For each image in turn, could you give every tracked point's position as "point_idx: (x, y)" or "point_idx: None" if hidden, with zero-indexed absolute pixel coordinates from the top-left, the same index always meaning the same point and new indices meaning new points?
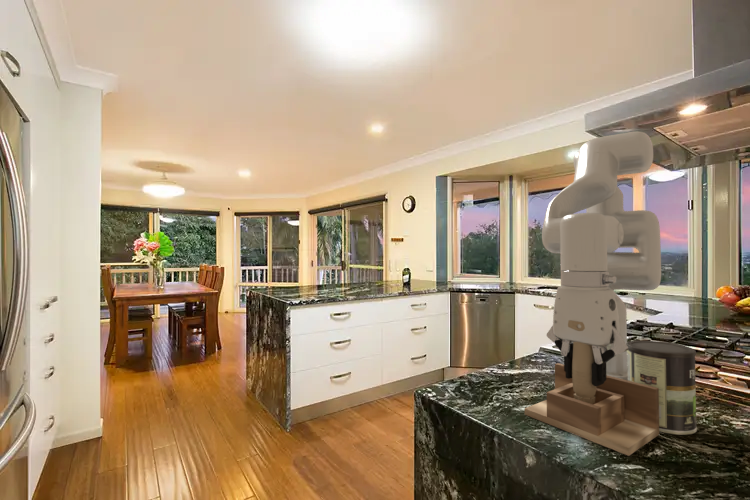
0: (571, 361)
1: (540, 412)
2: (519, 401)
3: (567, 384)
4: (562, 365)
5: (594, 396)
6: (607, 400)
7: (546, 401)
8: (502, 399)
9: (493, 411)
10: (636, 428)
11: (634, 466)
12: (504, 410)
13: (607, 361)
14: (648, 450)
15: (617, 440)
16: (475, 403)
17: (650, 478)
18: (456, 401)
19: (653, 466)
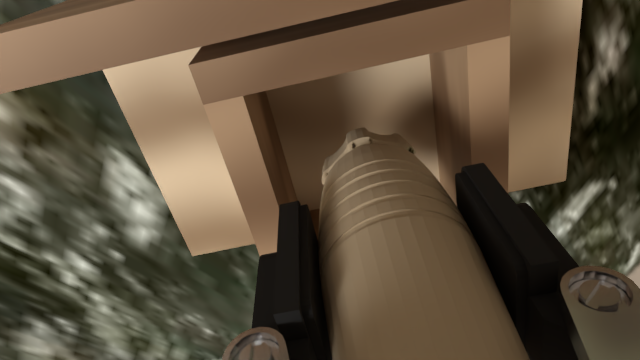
0: (329, 349)
1: (243, 231)
2: (65, 177)
3: (219, 147)
4: (15, 74)
5: (409, 150)
6: (486, 152)
7: (146, 132)
8: (34, 224)
9: (145, 306)
10: (526, 2)
11: (582, 200)
12: (145, 274)
13: (608, 286)
14: (583, 75)
15: (522, 169)
16: (65, 319)
17: (628, 214)
18: (39, 356)
19: (620, 155)
